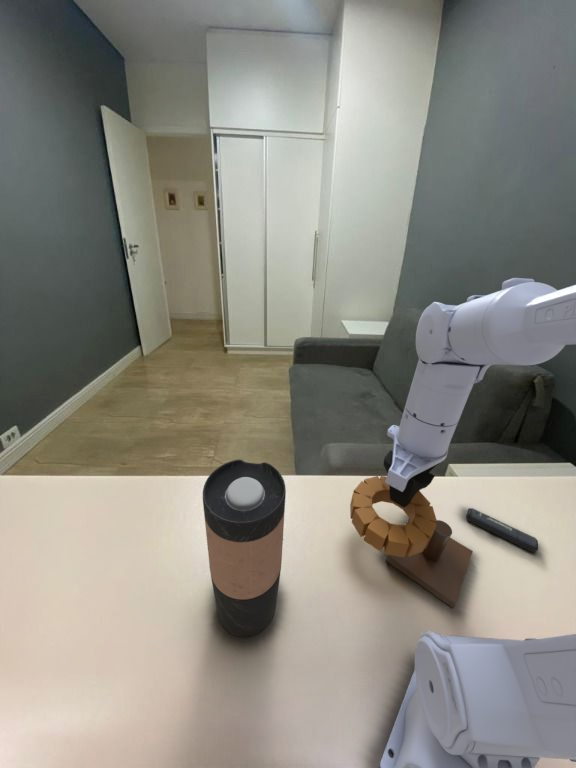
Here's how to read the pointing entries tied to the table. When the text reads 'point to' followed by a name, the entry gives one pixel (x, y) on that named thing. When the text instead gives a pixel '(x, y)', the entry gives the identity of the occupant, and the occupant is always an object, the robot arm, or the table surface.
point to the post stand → (437, 564)
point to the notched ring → (384, 533)
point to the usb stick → (502, 530)
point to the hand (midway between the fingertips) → (402, 494)
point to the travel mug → (245, 542)
